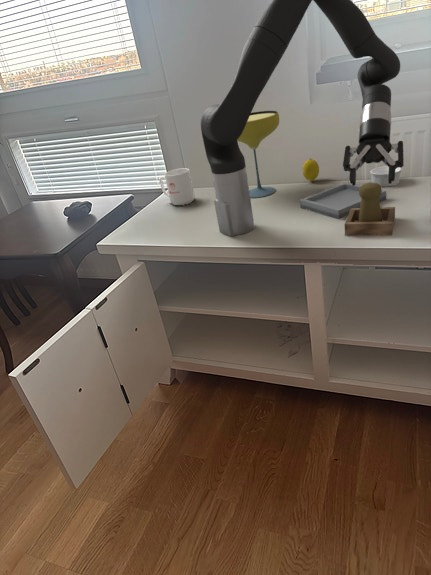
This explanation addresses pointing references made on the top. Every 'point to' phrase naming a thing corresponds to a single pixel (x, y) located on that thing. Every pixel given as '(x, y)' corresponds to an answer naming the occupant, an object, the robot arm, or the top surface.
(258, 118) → the cocktail glass
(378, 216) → the cork
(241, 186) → the robot arm
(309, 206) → the grey tray
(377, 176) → the ramekin
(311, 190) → the top surface
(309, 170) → the lemon
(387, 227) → the walnut holder
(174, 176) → the mug
